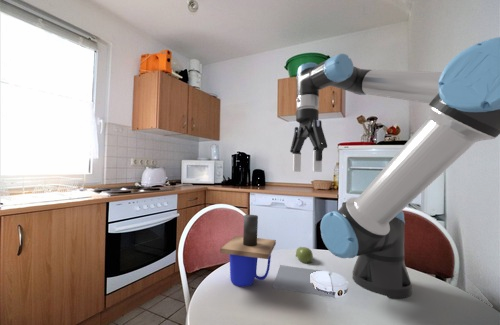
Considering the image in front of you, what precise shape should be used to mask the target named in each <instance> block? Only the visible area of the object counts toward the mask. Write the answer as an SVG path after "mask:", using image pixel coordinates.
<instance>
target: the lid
mask: <svg viewBox="0 0 500 325" xmlns="http://www.w3.org/2000/svg"><path fill="white" fill-rule="evenodd" d="M258 219H259V215H257V214H245V215H244V216H243V233H242V234H243V236H241V235H240V236H239V235H235V236H233V237H232V238H231V239H230V240H229V241H228V242H226V243H225V244H224V245H223V246H222V247H220V251H219V252H220V254H225V255H230V254H232V255H239V256H247V257H255V258H258V259H263V260H264V259H265V260H268V259H269V257H270V255H271V256H272V252H273V250H274V249H275V246H276V243H277V241H276V239H269V238H260V237H258V228H259V227H258V225H259V224H258V221H259V220H258Z"/></svg>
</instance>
